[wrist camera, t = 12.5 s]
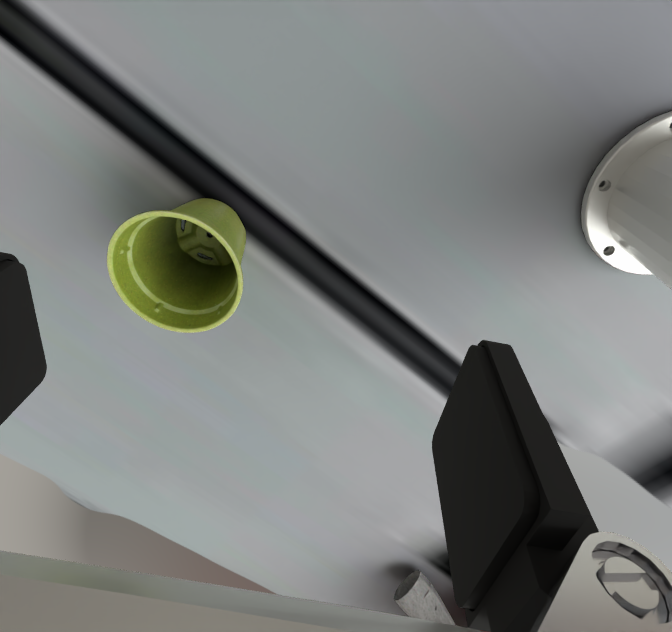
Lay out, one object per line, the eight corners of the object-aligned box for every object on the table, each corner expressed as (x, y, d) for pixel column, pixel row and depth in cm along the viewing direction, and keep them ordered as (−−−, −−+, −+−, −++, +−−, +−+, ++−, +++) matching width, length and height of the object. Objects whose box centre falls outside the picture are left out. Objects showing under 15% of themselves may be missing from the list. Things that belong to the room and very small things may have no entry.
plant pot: (164, 159, 36) (111, 190, 28) (278, 199, 37) (256, 240, 30) (150, 260, 41) (102, 310, 33) (252, 293, 42) (227, 348, 34)
